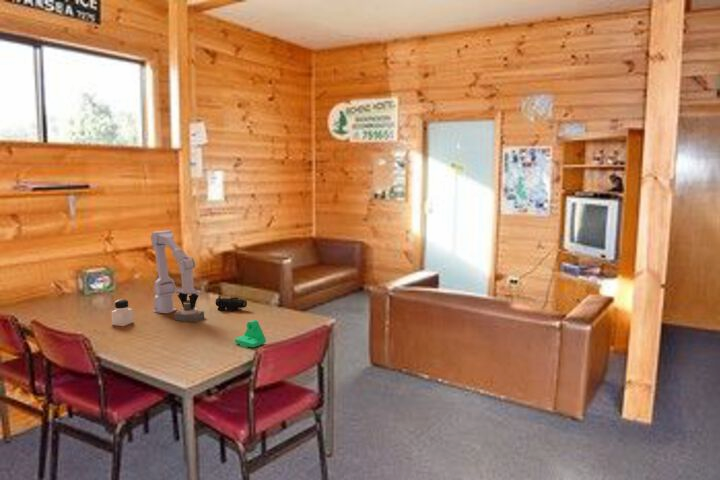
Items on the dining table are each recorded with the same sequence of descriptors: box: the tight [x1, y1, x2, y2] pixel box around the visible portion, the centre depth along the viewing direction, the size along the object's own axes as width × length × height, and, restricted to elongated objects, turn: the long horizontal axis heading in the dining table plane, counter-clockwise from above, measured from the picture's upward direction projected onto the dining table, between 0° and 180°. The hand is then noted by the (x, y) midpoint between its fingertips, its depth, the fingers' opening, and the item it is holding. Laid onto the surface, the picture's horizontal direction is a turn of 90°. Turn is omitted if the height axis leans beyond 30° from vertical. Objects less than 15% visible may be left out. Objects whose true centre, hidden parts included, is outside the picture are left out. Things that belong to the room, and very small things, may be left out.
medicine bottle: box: [111, 299, 134, 327], centre depth 258 cm, size 7×7×12 cm
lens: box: [183, 299, 193, 311], centre depth 265 cm, size 4×4×6 cm
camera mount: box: [234, 319, 267, 349], centre depth 228 cm, size 12×8×10 cm, turn 55°
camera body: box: [174, 307, 205, 323], centre depth 266 cm, size 12×8×5 cm, turn 71°
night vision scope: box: [215, 295, 248, 312], centre depth 281 cm, size 8×18×10 cm
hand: (188, 307), depth 265 cm, fingers closed on lens, 4 cm apart
